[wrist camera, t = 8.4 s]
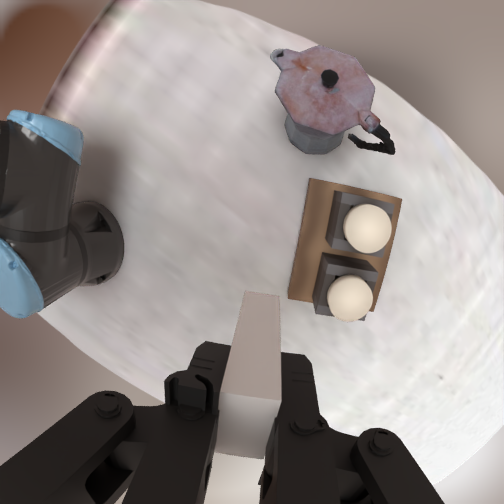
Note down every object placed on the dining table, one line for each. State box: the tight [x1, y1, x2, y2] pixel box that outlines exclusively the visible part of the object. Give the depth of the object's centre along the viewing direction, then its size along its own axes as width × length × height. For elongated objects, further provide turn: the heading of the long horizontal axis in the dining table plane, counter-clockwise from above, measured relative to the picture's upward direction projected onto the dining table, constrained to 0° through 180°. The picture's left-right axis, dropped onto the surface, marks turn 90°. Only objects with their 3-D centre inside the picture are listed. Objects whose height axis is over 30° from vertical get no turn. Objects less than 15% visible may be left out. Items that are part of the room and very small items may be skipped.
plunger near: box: [343, 204, 392, 253], centre depth 36 cm, size 6×6×8 cm
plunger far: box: [327, 275, 373, 322], centre depth 38 cm, size 6×6×8 cm
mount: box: [288, 178, 402, 321], centre depth 40 cm, size 14×18×8 cm
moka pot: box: [270, 45, 395, 155], centre depth 30 cm, size 10×15×20 cm, turn 55°
